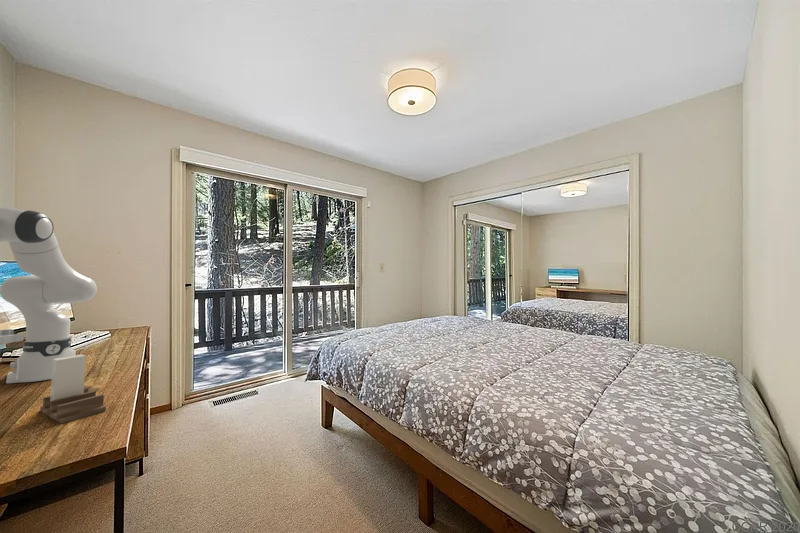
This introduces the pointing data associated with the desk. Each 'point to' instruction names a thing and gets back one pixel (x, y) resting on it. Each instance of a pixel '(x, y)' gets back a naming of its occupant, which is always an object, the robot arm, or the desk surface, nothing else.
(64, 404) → the drying rack
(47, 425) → the desk surface
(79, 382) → the clay bar
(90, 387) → the shard
